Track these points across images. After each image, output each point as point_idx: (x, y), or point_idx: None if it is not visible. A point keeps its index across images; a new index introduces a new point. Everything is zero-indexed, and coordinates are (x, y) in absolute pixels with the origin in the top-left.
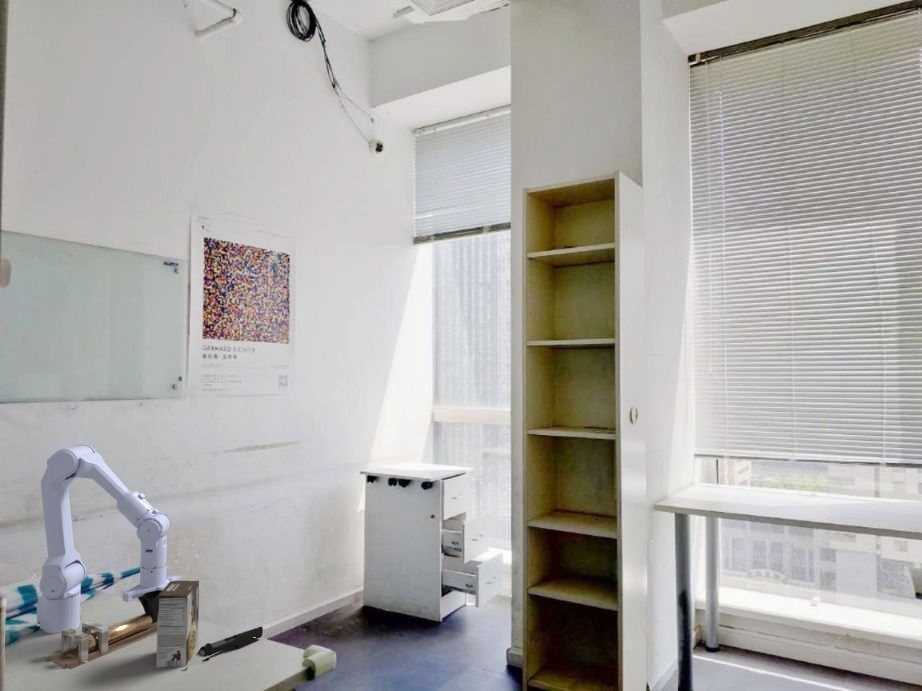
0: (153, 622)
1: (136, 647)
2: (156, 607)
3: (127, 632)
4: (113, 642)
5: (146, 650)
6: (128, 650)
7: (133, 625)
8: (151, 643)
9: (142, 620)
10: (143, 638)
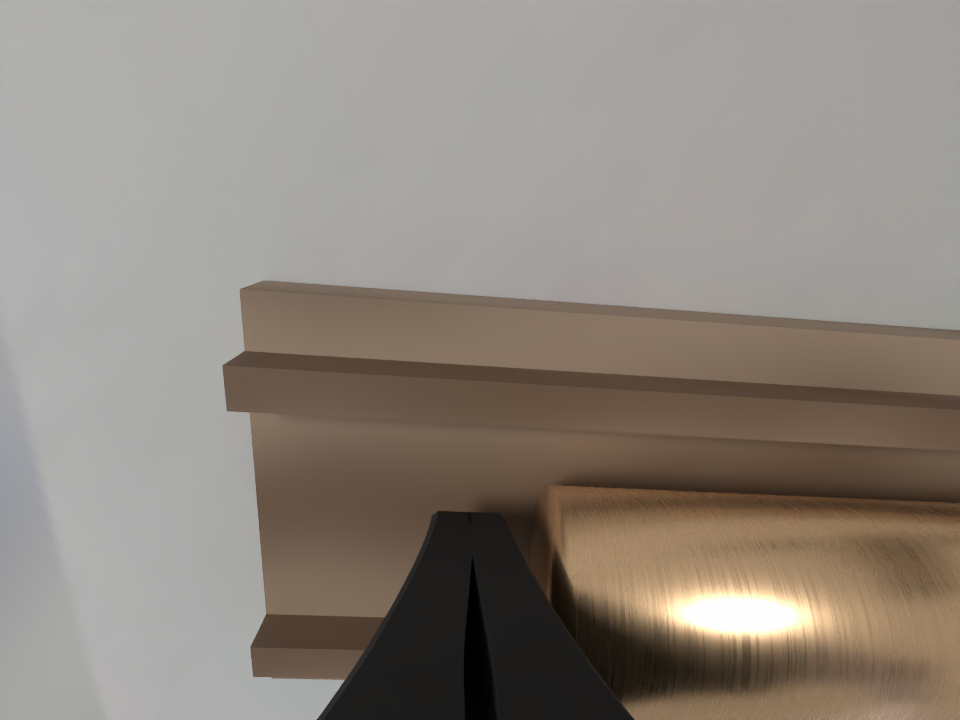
0: (498, 517)
1: (857, 297)
2: (507, 704)
3: (926, 516)
4: None
5: (910, 118)
6: (937, 312)
7: (887, 563)
8: (729, 229)
9: (731, 583)
10: (774, 337)
